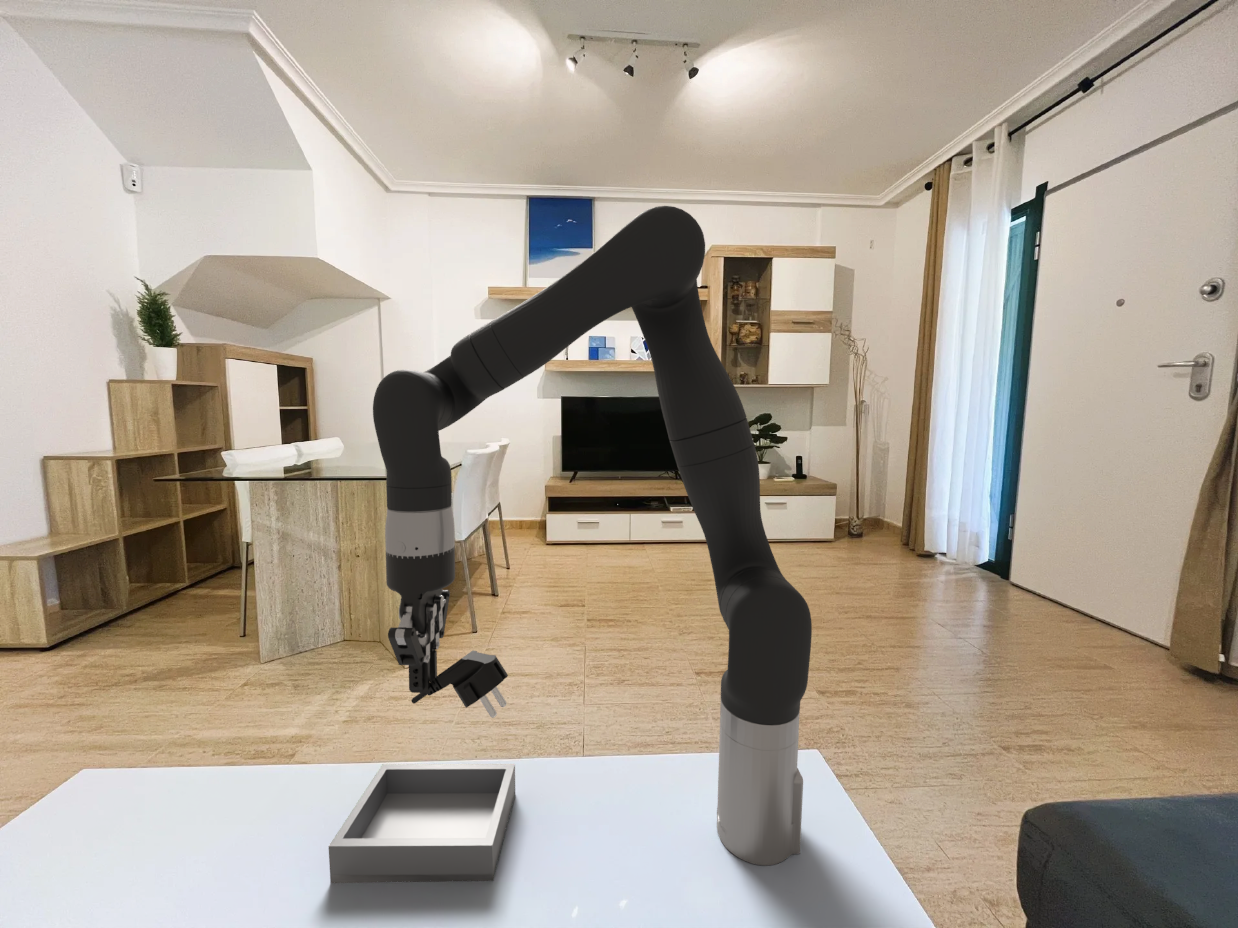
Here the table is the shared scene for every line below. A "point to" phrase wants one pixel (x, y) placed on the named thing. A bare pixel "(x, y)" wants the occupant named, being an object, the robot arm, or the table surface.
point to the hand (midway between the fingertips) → (423, 684)
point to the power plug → (471, 680)
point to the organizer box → (426, 825)
